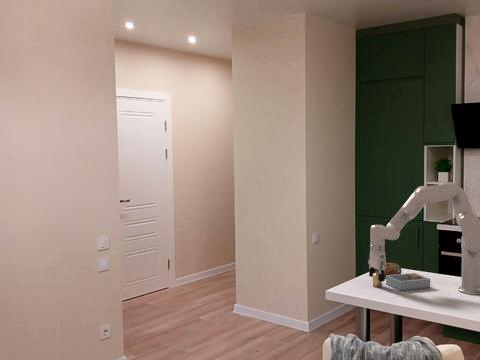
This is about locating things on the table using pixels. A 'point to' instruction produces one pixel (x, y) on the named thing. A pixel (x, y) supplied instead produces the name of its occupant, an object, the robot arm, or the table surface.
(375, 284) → the brass cylinder
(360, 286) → the table surface
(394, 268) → the tin
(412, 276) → the walnut cube
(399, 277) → the tote
